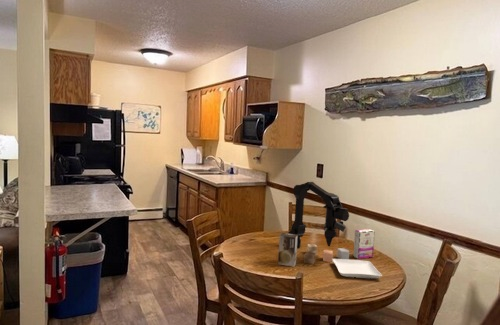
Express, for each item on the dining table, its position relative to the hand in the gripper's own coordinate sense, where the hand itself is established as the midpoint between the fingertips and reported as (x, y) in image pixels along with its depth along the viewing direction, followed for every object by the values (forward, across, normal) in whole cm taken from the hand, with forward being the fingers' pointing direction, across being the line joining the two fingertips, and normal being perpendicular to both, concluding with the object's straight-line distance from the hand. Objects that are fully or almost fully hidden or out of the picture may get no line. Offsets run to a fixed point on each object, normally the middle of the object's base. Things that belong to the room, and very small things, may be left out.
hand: (328, 243), depth 198 cm
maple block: (+10, +8, +9) cm, 15 cm away
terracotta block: (+10, 0, 0) cm, 10 cm away
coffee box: (+10, -14, +22) cm, 28 cm away
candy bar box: (+10, +13, -21) cm, 27 cm away
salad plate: (+10, -13, -14) cm, 22 cm away
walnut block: (+10, -7, +10) cm, 16 cm away
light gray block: (+10, +7, -9) cm, 15 cm away
